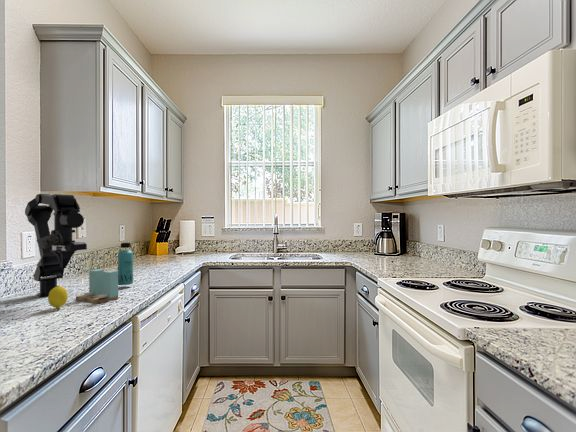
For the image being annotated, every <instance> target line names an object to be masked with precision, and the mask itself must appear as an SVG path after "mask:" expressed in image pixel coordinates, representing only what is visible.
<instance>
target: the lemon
mask: <svg viewBox="0 0 576 432" xmlns="http://www.w3.org/2000/svg"><path fill="white" fill-rule="evenodd" d="M68 295H69V294H68V292H67V289H66V288H65V287H63V286H60V285H57V286H56V287H55V288H53V289H52V290H51V291H50V292H49V296H47V297H48V299H47V301H48V304H49V305H50V306H51V307H53V308H54V309H58V310H59V309H60V308H61V307H63V306H65V304H66V303H67V301H68V298H69V297H68Z"/></svg>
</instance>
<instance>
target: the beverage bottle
mask: <svg viewBox="0 0 576 432" xmlns="http://www.w3.org/2000/svg"><path fill="white" fill-rule="evenodd" d="M131 247H132V246H131V242H121V243H120V248H121V249H122V250H120V251H117V271H118V286H129V285H133V284H134V283H133V282H134V252H133V250H131V249H126V248H131ZM124 248H125V249H124Z"/></svg>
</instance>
